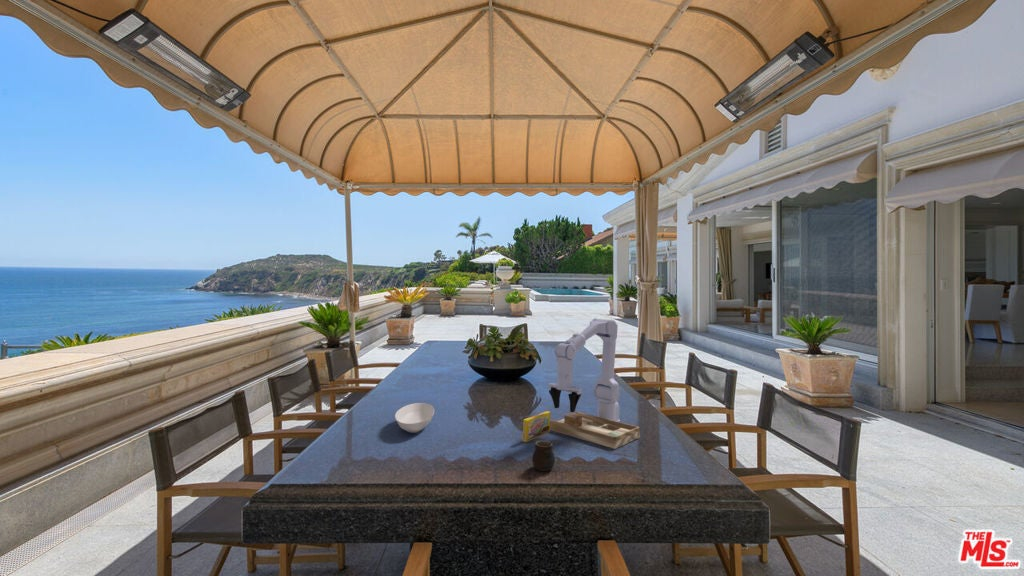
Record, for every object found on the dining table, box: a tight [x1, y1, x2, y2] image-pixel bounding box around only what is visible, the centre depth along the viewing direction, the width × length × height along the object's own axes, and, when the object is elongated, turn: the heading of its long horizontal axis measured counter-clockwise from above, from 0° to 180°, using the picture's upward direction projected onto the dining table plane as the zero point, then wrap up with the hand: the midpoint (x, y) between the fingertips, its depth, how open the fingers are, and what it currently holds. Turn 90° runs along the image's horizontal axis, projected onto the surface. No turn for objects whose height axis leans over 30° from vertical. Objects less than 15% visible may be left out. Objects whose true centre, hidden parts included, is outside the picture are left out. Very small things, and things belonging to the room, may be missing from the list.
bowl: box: [394, 402, 435, 434], centre depth 185 cm, size 30×15×6 cm, turn 4°
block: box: [563, 412, 582, 427], centre depth 183 cm, size 5×5×4 cm
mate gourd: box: [531, 440, 556, 472], centre depth 145 cm, size 7×8×10 cm
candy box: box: [521, 410, 551, 443], centre depth 176 cm, size 16×2×8 cm, turn 143°
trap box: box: [550, 411, 641, 450], centre depth 181 cm, size 18×30×4 cm, turn 46°
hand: (564, 409), depth 179 cm, fingers open, 7 cm apart
